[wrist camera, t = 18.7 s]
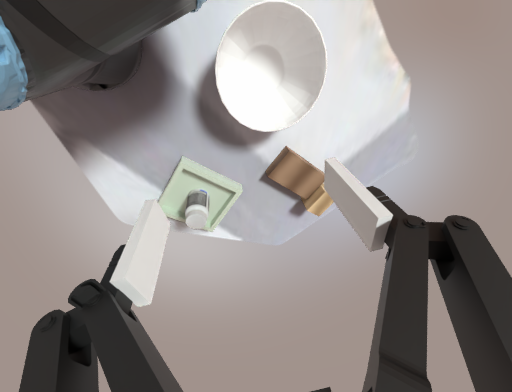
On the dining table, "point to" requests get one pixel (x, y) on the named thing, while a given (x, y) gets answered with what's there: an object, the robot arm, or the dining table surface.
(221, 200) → the tray
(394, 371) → the robot arm
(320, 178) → the brown cardboard box
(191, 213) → the pill bottle
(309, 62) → the bowl
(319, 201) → the wooden block
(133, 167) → the dining table surface
